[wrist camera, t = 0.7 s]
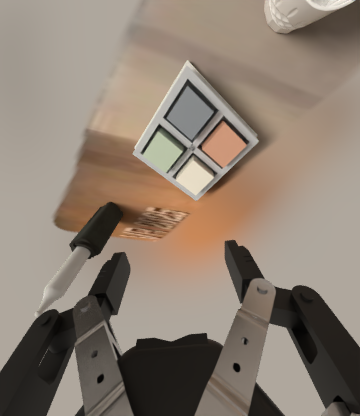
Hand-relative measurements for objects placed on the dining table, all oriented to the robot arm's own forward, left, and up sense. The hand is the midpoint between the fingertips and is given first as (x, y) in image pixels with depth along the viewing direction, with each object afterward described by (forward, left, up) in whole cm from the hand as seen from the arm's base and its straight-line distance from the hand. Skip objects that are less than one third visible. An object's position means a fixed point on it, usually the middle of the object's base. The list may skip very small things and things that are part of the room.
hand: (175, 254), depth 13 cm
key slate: (-8, 0, -21) cm, 23 cm away
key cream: (+2, +2, -21) cm, 22 cm away
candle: (+16, -19, -25) cm, 35 cm away
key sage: (-2, -4, -21) cm, 22 cm away
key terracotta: (-4, +6, -21) cm, 23 cm away
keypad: (-3, +1, -25) cm, 25 cm away
